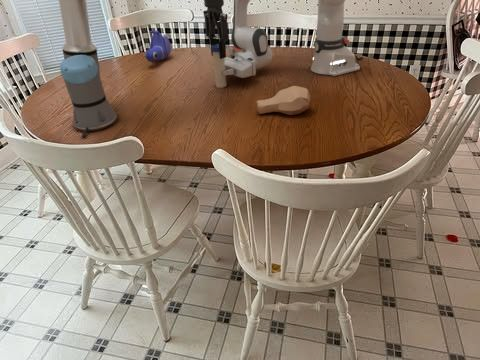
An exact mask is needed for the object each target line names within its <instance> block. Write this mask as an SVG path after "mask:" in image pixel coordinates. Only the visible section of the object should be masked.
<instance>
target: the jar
mask: <svg viewBox="0 0 480 360" xmlns="http://www.w3.org/2000/svg"><path fill="white" fill-rule="evenodd" d="M212 61H213V62H212V63H213V68H214V82H215V87H216V88H218V89H222V88H225V87H227V85H228V83H227V75H225V76H224V75H222V71H224V70H225V58H222V59H220V55H219V52H213V56H212Z"/></svg>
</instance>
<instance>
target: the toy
mask: <svg viewBox="0 0 480 360" xmlns="http://www.w3.org/2000/svg"><path fill="white" fill-rule="evenodd" d="M149 33H151V34H152V36H151V38H150V43H149V44H150V45H149V48H148V49H145V52H144V58H145V59H146V60H147V61H148V62H150V63H151V65H152V67H155V62H160V61H162V60H166V59H167V58H168V57H169V55H170V54H171V52H172V46H171V42H170V39H169V38H168V37H167V35H165V34H162V33H161V32H160V31H159V30H150V31H149Z"/></svg>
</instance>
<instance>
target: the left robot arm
mask: <svg viewBox="0 0 480 360" xmlns="http://www.w3.org/2000/svg"><path fill="white" fill-rule="evenodd" d="M58 4H59V11H60V15H61V21H62V27H63V33H64V39H65V43H64V44H63V45H62V47H61V48H62V54H63V60H61V62H60V64H59V69H60V75H61V77H62V79H63V82H64V84H65V87H66V90H67V93H68V95H69V99H70V101H71V104H72V108H73V114H72V117H73V118H72V119H73V125H74V128H75V129H76V131H78V132H83V134H82V135H81V136H82V137H83V138H85V137H86V135H87V133H92V132H99V131H102V130H105V129H107V128H110V127H111V126H113V125H115V124H116V122H117V121H118V116H117V113H116V111H115V110H114V108H113V107H112V105H111V103H110V102H109V101H108V99H107V96H106V92H105V90H104V87H103V86H104V85H103V83H102V79H101V72H100V62H99V57H98V56H99V55H98V50H97V49H98V48H97V46H96V45H95V44H93V42H92V37H91V35H92V34H91V28H90V22H89V21H90V20H89V14H88V6H87V0H58ZM203 4H204V7H205V8H207V9H206V10H203V11H202V12H203V13H202V14H203V17H204V28H205V29H204V30H205V37H208V39H209V45H210V46H209V47H211V46H212V45H214V44H219V55H220V59H222V58H226V57H227V51H226V50H227V45H226V43H227V41H229V40H230V38H229V37H230V36H229V27H228V14H227V13H224V12H223V9H222V8H223V6H225V0H203ZM216 31H217V36H218V39H219V40H218V42H217V36H216ZM210 54H211V56H212V57H213V51H212V50H211V49H210Z"/></svg>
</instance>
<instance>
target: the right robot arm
mask: <svg viewBox="0 0 480 360" xmlns="http://www.w3.org/2000/svg"><path fill="white" fill-rule="evenodd" d="M250 2H251V0H233V20H232V23H233V24H232V30H231V36H230V37H231V38H230V39H231V43H232V46H233V45H234V47H235V48H237V49H246V52H244V53H241V54H238V55H236V56H234V58H231V57H228V56H226V58H225V70H224V71H222V75H224V76H225V75H226V76H235V77H238V78H241V79H246V78H248V77H253V76H256V74H257V71H258V70H259V69H262V68H264V67H266V66H268V65H269V64H270V63H271V62H272V60H273V56H274V55H273V50H272V49H271V47H270V46H269V41H268V39H269V38H268V35H267V32H266V30H264V29H263V28H260V27H252V26H251V27H250V26H248V23H247V19H248V6H249V3H250ZM345 2H346V0H318V1H317V21H316V22H317V23H316V35H315V36H316V37H315V39H314V54H313V57H312V63H311V66H310V71H311V72H312V73H315V74H319V75H327V76H331V77H336V76H340V75H344V74H348V73H352V72H356V71H360V70H361V65H359V64H358V63H357V62H356V61H357V60H359V61H360V60H363V58H364V57H363V56H361V57H358V56H357V55H356V54H354V52H352V51H351V49H349V48H348V47H347V46H345V45H349V44H350V42H351V41H350V39H348V38H344V37H343V29H344V22H345ZM212 71H213V72H214V67H213V68H212Z"/></svg>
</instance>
